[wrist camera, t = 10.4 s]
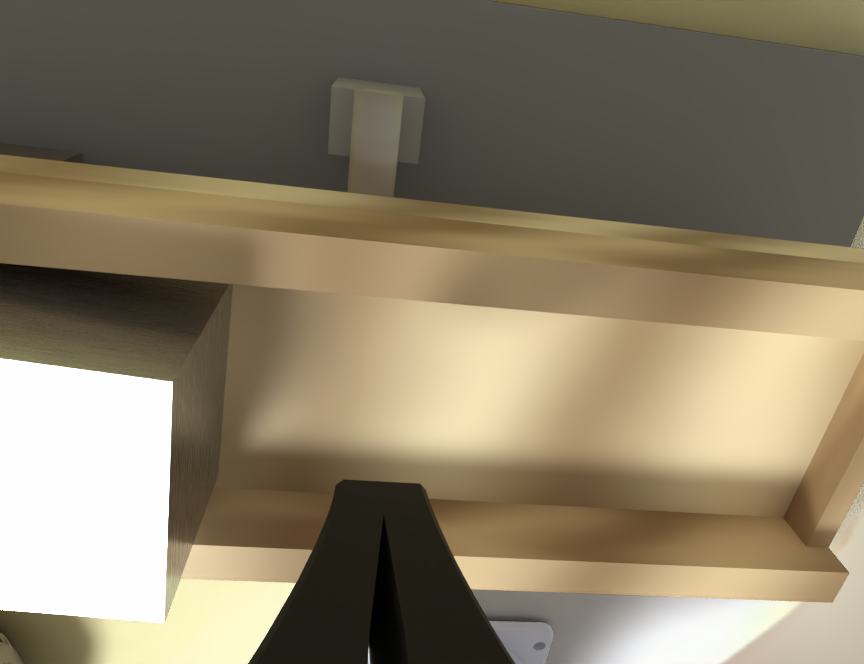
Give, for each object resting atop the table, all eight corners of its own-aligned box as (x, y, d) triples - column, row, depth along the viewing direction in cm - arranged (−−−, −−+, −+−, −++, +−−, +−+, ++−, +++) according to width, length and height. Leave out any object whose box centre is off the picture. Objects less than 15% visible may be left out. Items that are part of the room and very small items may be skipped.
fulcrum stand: (901, 63, 17) (1009, 73, 14) (711, 513, 24) (757, 582, 21) (-255, -108, 14) (-429, -142, 11) (-84, 473, 21) (-161, 549, 18)
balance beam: (842, 140, 16) (1065, 200, 11) (697, 498, 22) (801, 657, 16) (-178, 7, 14) (-545, 1, 8) (-58, 455, 19) (-235, 630, 13)
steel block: (233, 277, 12) (172, 382, 9) (218, 474, 15) (164, 622, 11) (-42, 232, 12) (-229, 326, 8) (-15, 447, 14) (-154, 596, 10)
